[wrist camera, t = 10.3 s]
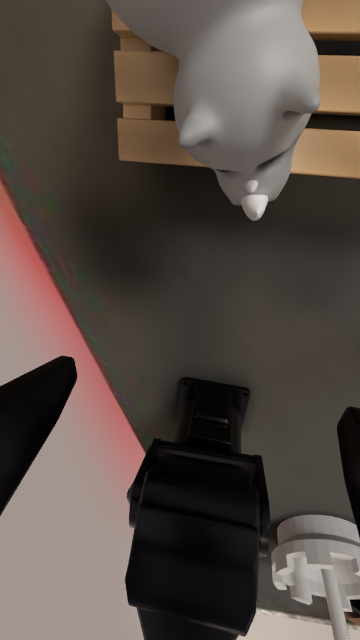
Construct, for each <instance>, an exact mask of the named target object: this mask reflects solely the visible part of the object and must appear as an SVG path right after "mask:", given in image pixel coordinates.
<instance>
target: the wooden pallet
mask: <svg viewBox="0 0 360 640" xmlns="http://www.w3.org/2000/svg"><path fill="white" fill-rule="evenodd" d="M111 11H112V29H113V31H114V32H115V33H116V34H117V35H119V36H120V45H121V50H115V51H114V71H115V90H116V101H117V102H119V103H121V104H123V118H117V128H118V148H119V160H121V161H133V162H146V163H159V164H172V165H185V166H199V167H208V166H205V165H204V164H202V163H200V162H198V161H197V160H195V159H194V158H192V157H191V156H190V154H189V153H188V152H187V150H186V149H184V148H182V147H180V145H179V143H178V135H179V133H178V130H177V126H176V121H168V120H165V118H166V106H168V107H174V89H175V82H176V77H177V73H178V69H179V59H178V58H177V57H174V56H172V55H170V54H168V53H166V52H164V51H162V50H159V49H157V48H155V47H153V46H151V45H150V44H148V43H147V42H145V41H144V40H142V39H141V38H140V37H138V36H137V35H136V34H135V33H134V32H132V31H131V30H130V29H129V28H128V27H127V26H126V25H125V24H124V23H123V22H122V21H121V19H120V18H119V17H118V16H117V15H116V14H115V13H114V11H113V10H112V9H111ZM301 17H302V21H303V23H304V25H305V27H306V29H307V31H308V32H309V34H310V36H311V37H312V39H313V40H323V41H360V0H304V1H303V5H302V10H301ZM318 58H319V66H320V82H319V90H318V91H319V94H320V106H319V108H318V110H317V111H316V112H314V113H312V114H329V115H349V116H360V56H340V55H318ZM290 174H303V175H316V176H329V177H342V178H355V179H360V131H346V130H328V129H310V128H304V130H303V132H302V134H301V136H300V138H299V140H298V142H297V144H296V146H295V148H294V151H293V158H292V166H291V171H290Z"/></svg>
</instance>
